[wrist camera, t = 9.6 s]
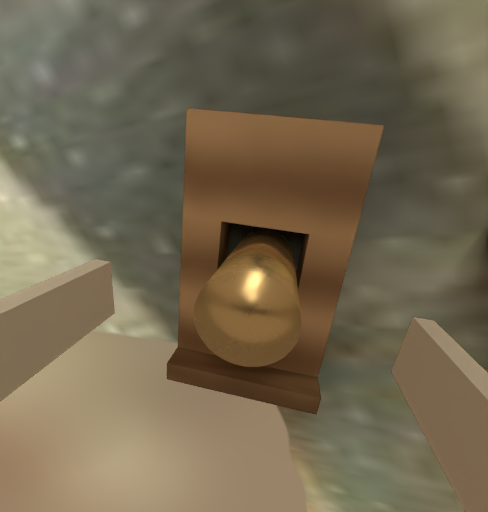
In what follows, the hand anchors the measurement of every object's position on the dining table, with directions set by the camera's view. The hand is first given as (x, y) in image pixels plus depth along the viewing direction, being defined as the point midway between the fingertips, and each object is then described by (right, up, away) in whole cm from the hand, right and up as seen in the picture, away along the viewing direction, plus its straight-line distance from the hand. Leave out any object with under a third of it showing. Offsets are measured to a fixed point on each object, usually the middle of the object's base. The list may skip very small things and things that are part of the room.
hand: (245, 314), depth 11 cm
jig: (+2, +2, +10) cm, 10 cm away
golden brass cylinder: (+2, +2, +10) cm, 10 cm away
